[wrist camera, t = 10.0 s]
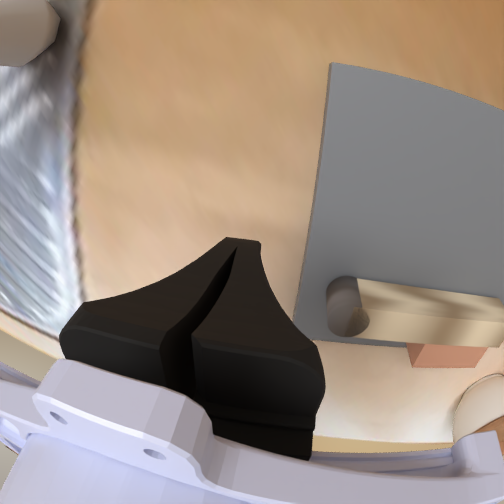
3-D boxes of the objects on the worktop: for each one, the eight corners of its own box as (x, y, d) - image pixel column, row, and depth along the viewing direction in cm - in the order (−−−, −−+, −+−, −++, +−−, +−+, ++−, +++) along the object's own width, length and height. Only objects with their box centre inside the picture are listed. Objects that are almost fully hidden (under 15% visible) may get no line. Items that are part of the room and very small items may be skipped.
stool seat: (477, 334, 24) (493, 374, 20) (292, 319, 26) (288, 366, 22) (553, 136, 14) (594, 156, 10) (329, 64, 16) (338, 58, 12)
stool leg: (322, 304, 22) (323, 334, 19) (330, 273, 20) (333, 302, 18) (485, 322, 21) (498, 348, 18) (499, 297, 19) (514, 322, 17)
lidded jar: (477, 417, 31) (491, 474, 23) (427, 409, 31) (438, 478, 23) (533, 367, 26) (557, 427, 18) (489, 351, 25) (518, 425, 17)
